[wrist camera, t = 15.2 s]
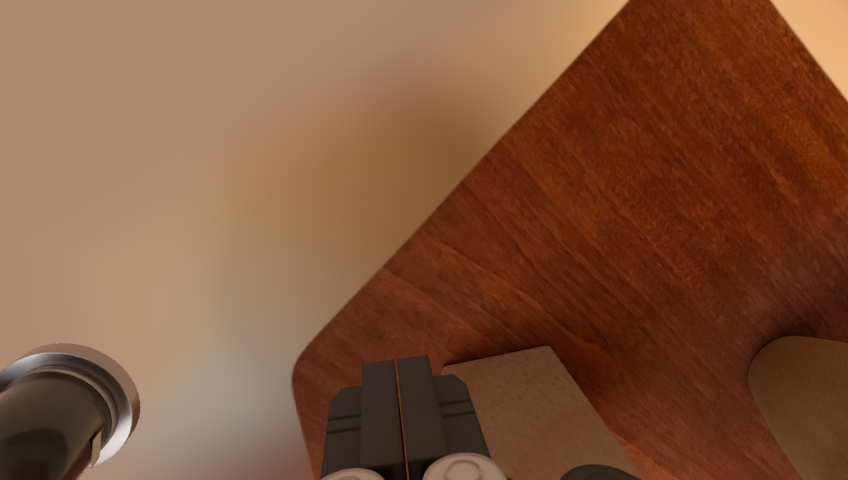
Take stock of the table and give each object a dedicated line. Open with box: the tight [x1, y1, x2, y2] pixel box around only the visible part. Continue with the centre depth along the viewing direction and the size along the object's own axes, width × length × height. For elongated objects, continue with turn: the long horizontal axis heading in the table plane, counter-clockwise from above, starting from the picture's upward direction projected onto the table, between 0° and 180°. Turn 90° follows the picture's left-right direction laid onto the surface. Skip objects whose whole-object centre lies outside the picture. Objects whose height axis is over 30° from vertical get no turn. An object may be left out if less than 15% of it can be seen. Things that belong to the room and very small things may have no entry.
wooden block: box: [441, 346, 645, 480], centre depth 39 cm, size 10×10×20 cm
